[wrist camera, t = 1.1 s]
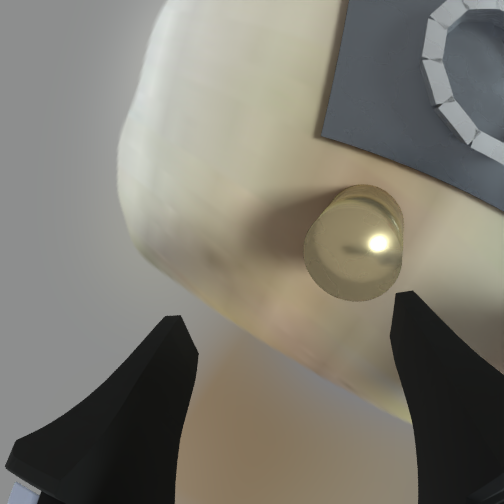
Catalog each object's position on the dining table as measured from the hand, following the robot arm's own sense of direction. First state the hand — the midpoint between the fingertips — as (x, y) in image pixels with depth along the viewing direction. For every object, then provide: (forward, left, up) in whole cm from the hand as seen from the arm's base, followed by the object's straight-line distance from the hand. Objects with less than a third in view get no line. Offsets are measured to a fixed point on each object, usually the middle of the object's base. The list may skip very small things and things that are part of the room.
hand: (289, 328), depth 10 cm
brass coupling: (-1, 0, -11) cm, 11 cm away
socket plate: (-6, -12, -11) cm, 17 cm away
